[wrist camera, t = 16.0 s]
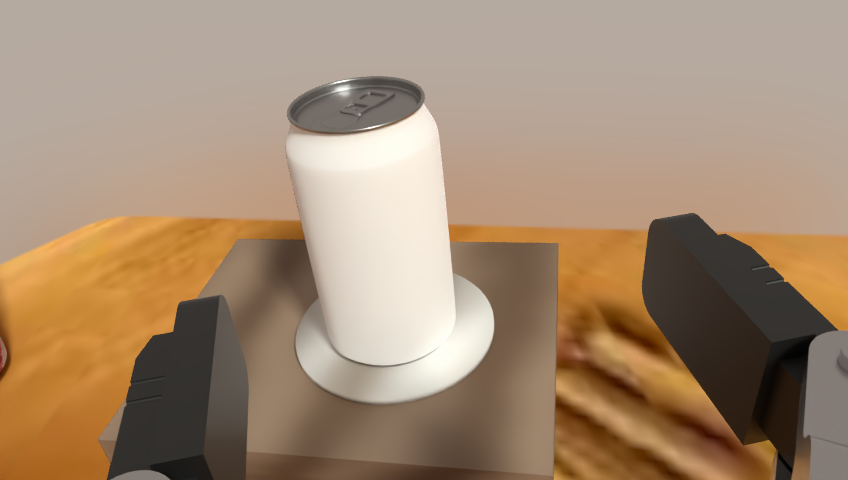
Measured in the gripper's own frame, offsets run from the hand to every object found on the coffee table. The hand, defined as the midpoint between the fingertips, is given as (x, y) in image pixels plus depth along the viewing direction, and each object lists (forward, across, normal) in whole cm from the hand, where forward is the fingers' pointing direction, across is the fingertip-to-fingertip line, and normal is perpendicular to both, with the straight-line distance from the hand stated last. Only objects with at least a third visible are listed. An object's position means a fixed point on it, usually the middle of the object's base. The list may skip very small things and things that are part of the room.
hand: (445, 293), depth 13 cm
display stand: (+17, +2, +18) cm, 25 cm away
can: (+16, 0, +15) cm, 22 cm away
